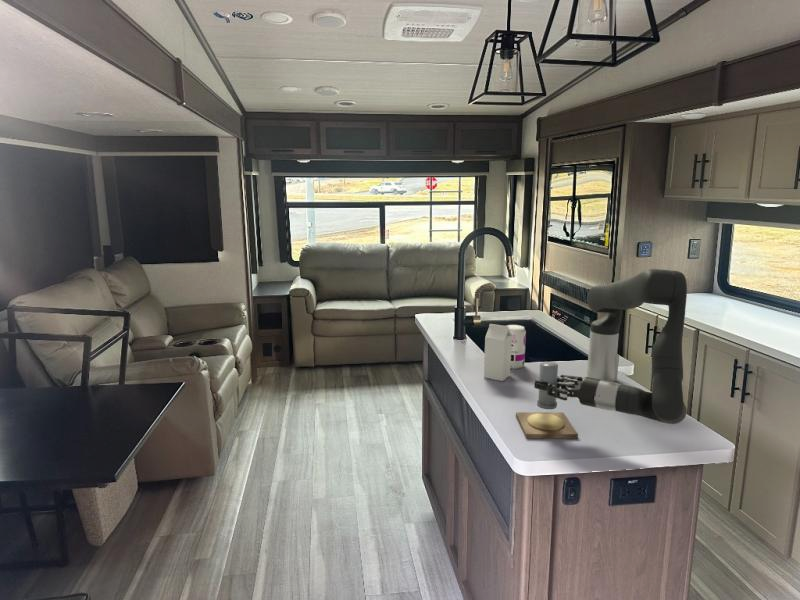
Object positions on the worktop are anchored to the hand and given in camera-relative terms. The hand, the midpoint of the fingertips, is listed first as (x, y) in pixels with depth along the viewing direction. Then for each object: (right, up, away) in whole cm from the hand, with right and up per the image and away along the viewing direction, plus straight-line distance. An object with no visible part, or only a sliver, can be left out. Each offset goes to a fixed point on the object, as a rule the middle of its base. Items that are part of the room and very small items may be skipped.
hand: (538, 381), depth 153 cm
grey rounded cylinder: (+2, -7, 0) cm, 7 cm away
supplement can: (+4, -2, +52) cm, 52 cm away
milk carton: (-5, -5, +41) cm, 41 cm away
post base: (+2, -13, +1) cm, 13 cm away
